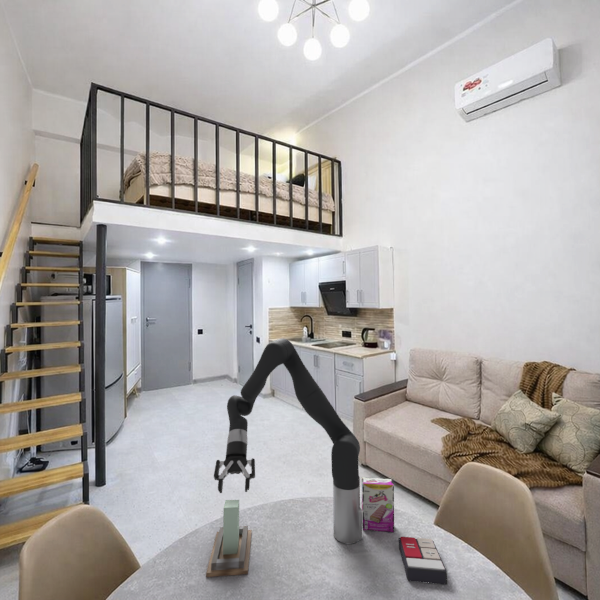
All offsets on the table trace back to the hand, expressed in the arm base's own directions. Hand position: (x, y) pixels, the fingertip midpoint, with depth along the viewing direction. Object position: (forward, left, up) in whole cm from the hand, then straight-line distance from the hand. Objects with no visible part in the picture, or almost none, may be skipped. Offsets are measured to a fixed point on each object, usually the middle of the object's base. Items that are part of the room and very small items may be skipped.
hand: (233, 491), depth 111 cm
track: (0, +6, -16) cm, 17 cm away
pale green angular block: (0, +5, -15) cm, 16 cm away
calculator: (-59, +16, -17) cm, 63 cm away
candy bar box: (-51, -2, -16) cm, 54 cm away
